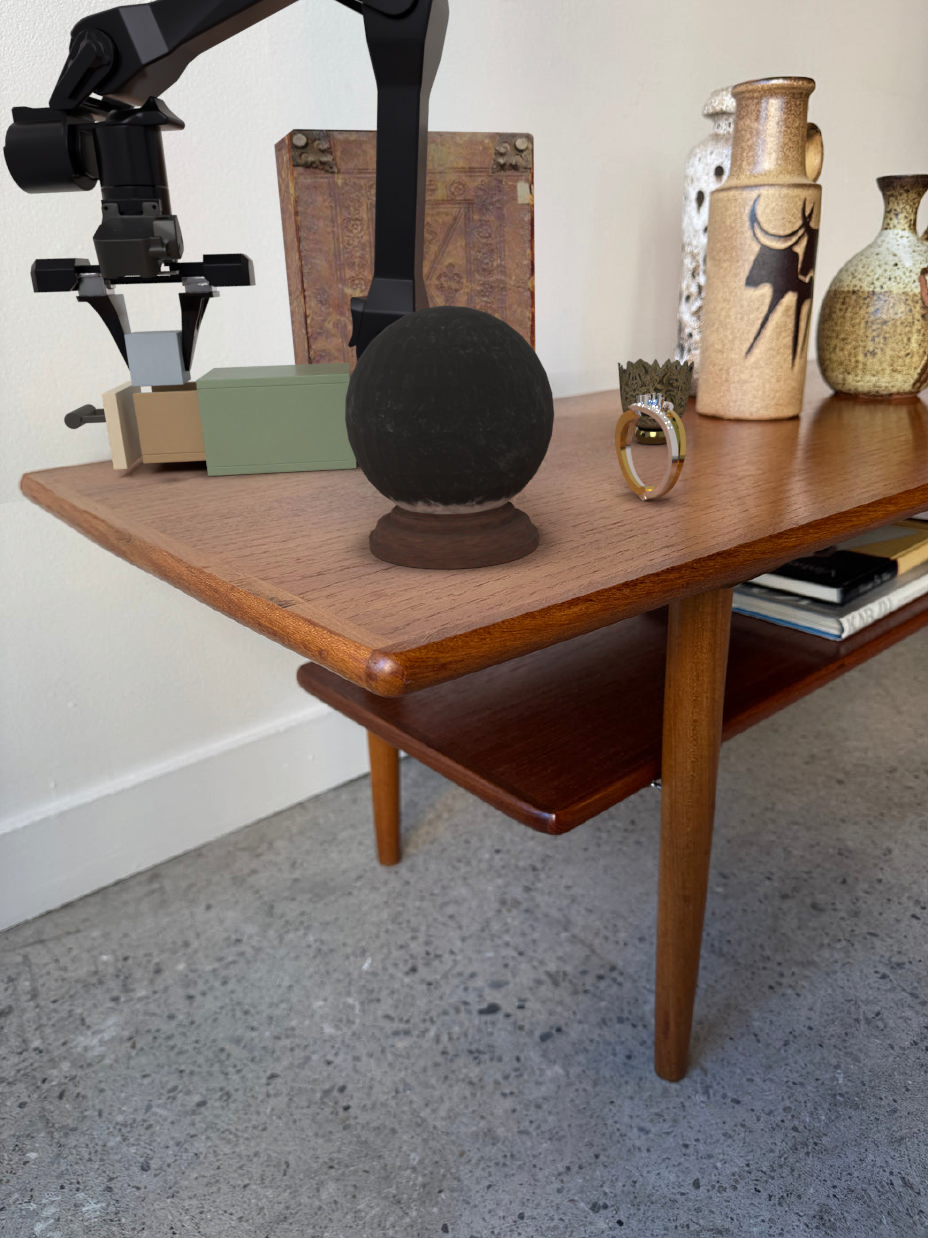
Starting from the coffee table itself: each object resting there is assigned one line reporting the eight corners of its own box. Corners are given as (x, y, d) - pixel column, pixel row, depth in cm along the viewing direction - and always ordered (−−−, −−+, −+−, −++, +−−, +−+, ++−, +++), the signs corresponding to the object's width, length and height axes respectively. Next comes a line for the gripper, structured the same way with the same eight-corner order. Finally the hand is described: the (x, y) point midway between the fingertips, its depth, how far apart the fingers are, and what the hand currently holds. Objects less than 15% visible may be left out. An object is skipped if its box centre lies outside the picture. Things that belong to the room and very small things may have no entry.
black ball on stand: (469, 509, 70) (463, 300, 65) (595, 543, 60) (600, 301, 55) (317, 543, 62) (296, 309, 57) (434, 588, 53) (421, 312, 47)
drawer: (65, 472, 83) (51, 395, 81) (94, 451, 93) (83, 382, 91) (253, 462, 85) (244, 387, 83) (262, 443, 95) (255, 375, 92)
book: (506, 417, 113) (502, 144, 102) (536, 427, 105) (536, 132, 94) (300, 434, 105) (273, 141, 95) (315, 447, 97) (288, 127, 87)
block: (191, 379, 89) (184, 329, 87) (183, 384, 85) (176, 332, 83) (142, 381, 89) (135, 331, 87) (131, 386, 84) (124, 334, 83)
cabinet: (207, 476, 84) (195, 380, 81) (223, 453, 95) (213, 367, 92) (356, 468, 86) (349, 373, 83) (355, 446, 97) (349, 362, 94)
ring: (605, 493, 74) (608, 390, 71) (639, 488, 75) (643, 387, 72) (654, 511, 68) (659, 400, 65) (691, 506, 69) (697, 397, 66)
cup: (641, 433, 99) (644, 356, 96) (702, 440, 94) (708, 359, 91) (601, 444, 94) (603, 363, 91) (664, 452, 89) (668, 367, 86)
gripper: (-9, 182, 72) (29, 385, 78) (232, 177, 74) (253, 376, 80) (35, 194, 83) (67, 372, 88) (246, 189, 85) (264, 364, 90)
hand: (160, 371), depth 86 cm, fingers closed on block, 5 cm apart
